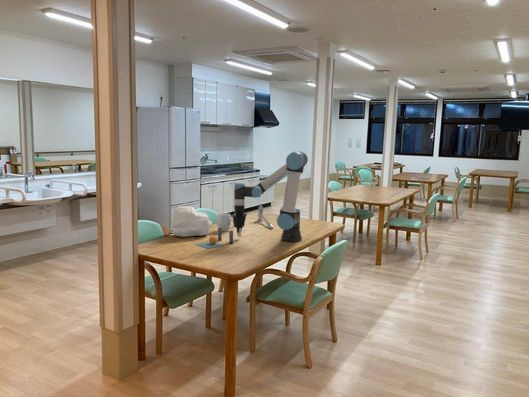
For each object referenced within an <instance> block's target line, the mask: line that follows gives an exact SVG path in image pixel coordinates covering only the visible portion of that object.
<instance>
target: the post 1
mask: <svg viewBox="0 0 529 397" xmlns="http://www.w3.org/2000/svg"><path fill="white" fill-rule="evenodd" d="M222 239H223V238H222V228H218V227H217V242H221V241H222Z"/></svg>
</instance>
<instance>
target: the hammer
mask: <svg viewBox="0 0 529 397" xmlns="http://www.w3.org/2000/svg"><path fill="white" fill-rule="evenodd" d="M257 210H258V212H257V213H258V214H257V217H258V219H257V222H265V223H266V225H267V227H268V228H269V230H274V226H273V225H272V223H270V222H269V221H268V219H267V218H266V216H265V215H264V207H263V204H262V203H260V205H259V206H258V208H257Z"/></svg>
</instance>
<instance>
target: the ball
mask: <svg viewBox="0 0 529 397" xmlns="http://www.w3.org/2000/svg"><path fill="white" fill-rule="evenodd" d="M208 242H210V243H211V244H215V243H218V237H216V236H214V235H212V236H210V238H209V239H208Z"/></svg>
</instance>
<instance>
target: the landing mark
mask: <svg viewBox="0 0 529 397" xmlns="http://www.w3.org/2000/svg"><path fill="white" fill-rule="evenodd" d="M195 246H198V247H201V248H204V249H207V250H208V249H213V248H219V247H223V246H224V244H222V243H218V242H216V243H215V244H211V243H210V242H209V241H207V242H202V243H201V242H200V243H196V244H195Z"/></svg>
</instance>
